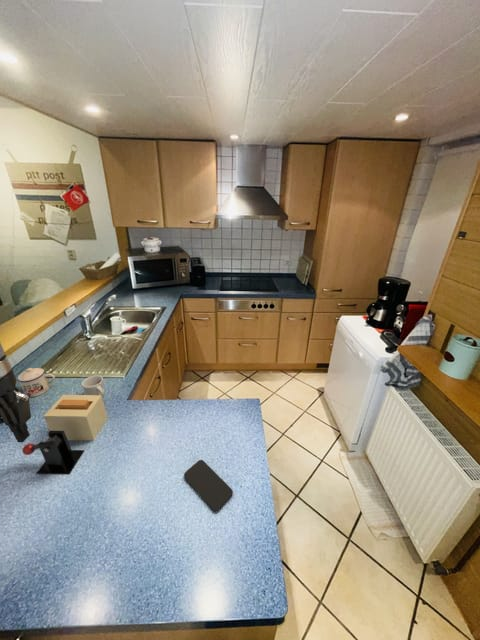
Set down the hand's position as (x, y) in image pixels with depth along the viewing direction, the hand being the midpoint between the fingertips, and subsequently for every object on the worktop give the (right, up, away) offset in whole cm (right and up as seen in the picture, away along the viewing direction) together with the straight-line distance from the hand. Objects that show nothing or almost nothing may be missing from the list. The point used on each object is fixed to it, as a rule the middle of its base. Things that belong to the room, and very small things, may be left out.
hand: (23, 438), depth 75 cm
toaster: (+7, -5, +16) cm, 19 cm away
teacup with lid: (-23, +5, +35) cm, 42 cm away
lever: (+5, -4, +2) cm, 6 cm away
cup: (+4, +2, +32) cm, 32 cm away
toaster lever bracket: (+8, -10, +5) cm, 14 cm away
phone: (+55, -14, -1) cm, 57 cm away
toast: (+7, -3, +15) cm, 17 cm away
